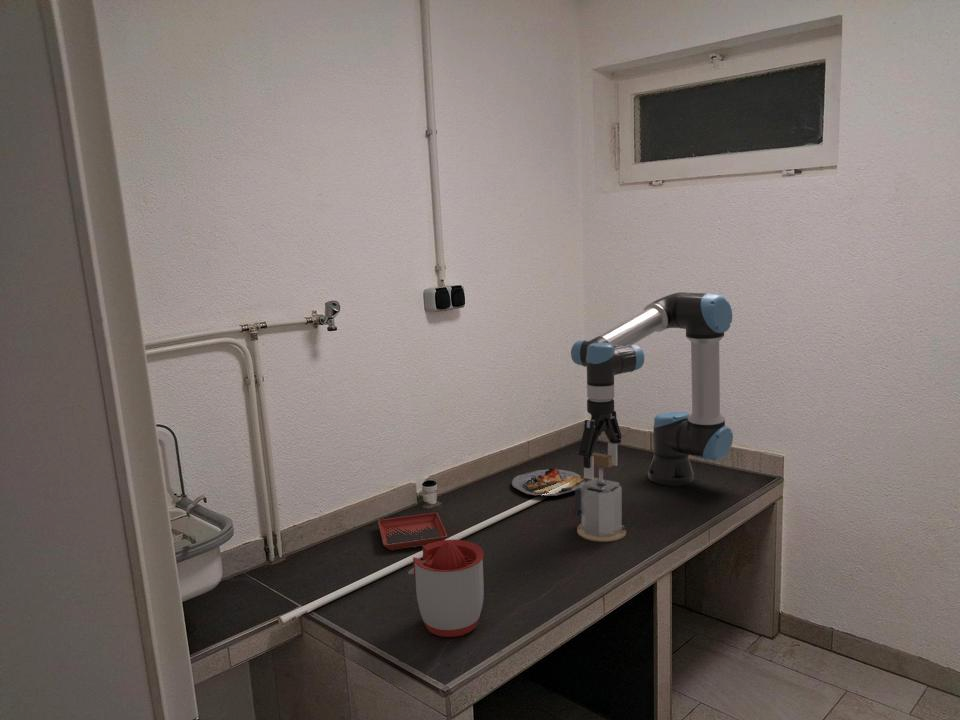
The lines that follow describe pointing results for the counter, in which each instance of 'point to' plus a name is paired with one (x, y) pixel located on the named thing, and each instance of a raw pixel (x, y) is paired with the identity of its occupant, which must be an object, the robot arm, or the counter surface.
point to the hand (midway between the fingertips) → (601, 471)
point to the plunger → (602, 465)
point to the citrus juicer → (450, 586)
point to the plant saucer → (411, 529)
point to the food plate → (549, 481)
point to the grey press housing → (600, 511)
